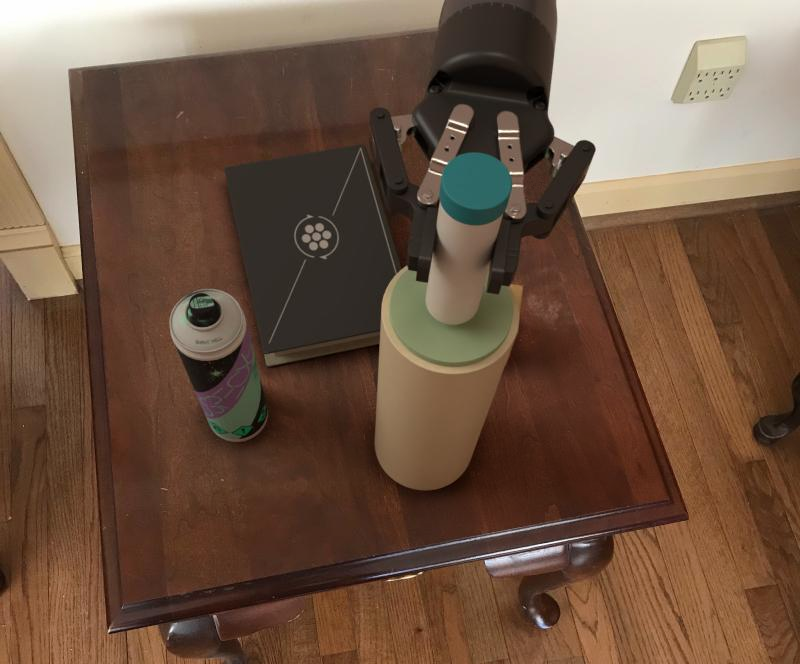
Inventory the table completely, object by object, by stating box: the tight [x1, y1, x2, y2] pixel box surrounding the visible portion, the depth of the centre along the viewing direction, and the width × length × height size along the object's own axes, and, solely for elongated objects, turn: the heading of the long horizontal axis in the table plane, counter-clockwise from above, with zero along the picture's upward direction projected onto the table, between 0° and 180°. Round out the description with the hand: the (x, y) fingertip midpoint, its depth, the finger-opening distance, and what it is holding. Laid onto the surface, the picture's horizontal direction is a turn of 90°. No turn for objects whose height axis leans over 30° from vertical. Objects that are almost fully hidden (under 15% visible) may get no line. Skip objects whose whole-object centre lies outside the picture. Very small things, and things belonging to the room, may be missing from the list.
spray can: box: [169, 288, 269, 443], centre depth 67 cm, size 6×6×20 cm
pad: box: [389, 268, 513, 366], centre depth 54 cm, size 8×8×1 cm
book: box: [223, 143, 403, 368], centre depth 82 cm, size 22×15×3 cm
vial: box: [426, 153, 512, 325], centre depth 47 cm, size 11×4×11 cm
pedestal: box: [374, 265, 520, 491], centre depth 65 cm, size 9×9×24 cm
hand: (459, 279), depth 45 cm, fingers closed on vial, 3 cm apart
